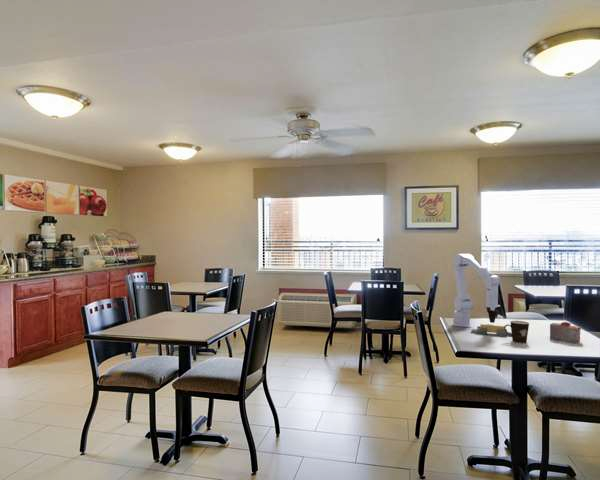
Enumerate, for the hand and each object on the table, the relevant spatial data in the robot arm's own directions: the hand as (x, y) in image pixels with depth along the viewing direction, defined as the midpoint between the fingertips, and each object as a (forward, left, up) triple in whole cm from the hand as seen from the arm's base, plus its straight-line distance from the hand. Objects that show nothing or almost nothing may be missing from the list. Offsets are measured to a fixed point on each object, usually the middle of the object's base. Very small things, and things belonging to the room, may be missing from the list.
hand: (491, 321), depth 225 cm
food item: (+35, 0, -8) cm, 36 cm away
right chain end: (+7, 0, -7) cm, 10 cm away
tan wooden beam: (0, 0, -6) cm, 6 cm away
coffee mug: (+11, -12, -7) cm, 18 cm away
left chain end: (-6, 0, -7) cm, 10 cm away
